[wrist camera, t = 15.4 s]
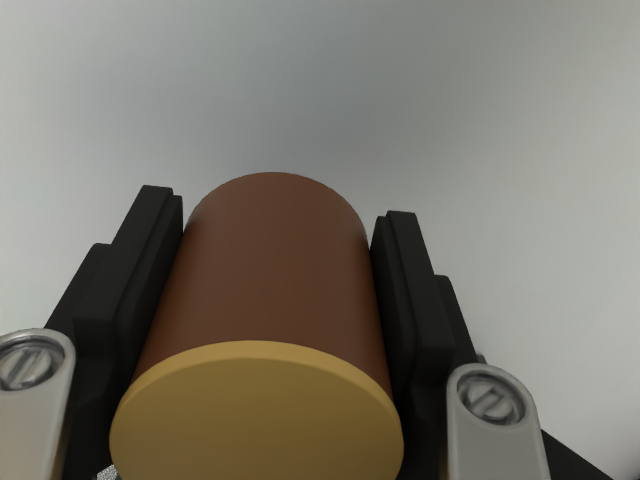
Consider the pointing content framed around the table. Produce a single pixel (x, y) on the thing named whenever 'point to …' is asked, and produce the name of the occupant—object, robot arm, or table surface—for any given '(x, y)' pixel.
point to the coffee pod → (263, 347)
